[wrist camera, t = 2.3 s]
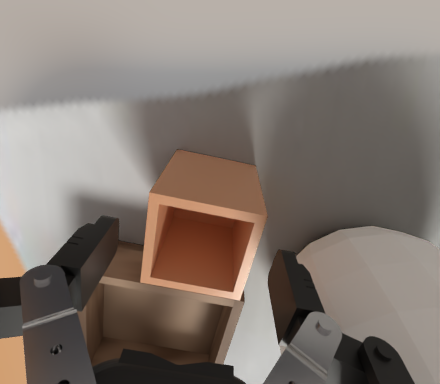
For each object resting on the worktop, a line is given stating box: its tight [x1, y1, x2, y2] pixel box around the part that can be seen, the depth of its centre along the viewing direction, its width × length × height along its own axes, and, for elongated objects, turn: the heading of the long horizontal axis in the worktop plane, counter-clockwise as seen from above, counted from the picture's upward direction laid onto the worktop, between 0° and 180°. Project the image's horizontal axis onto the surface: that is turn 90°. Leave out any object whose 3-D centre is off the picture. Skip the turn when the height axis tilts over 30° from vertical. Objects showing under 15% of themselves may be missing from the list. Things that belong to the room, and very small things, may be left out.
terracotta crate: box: [140, 149, 268, 301], centre depth 17 cm, size 6×6×7 cm
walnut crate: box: [77, 241, 244, 367], centre depth 23 cm, size 12×12×4 cm
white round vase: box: [280, 226, 440, 384], centre depth 17 cm, size 13×13×14 cm
